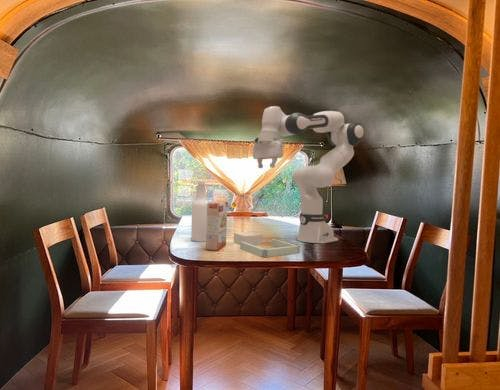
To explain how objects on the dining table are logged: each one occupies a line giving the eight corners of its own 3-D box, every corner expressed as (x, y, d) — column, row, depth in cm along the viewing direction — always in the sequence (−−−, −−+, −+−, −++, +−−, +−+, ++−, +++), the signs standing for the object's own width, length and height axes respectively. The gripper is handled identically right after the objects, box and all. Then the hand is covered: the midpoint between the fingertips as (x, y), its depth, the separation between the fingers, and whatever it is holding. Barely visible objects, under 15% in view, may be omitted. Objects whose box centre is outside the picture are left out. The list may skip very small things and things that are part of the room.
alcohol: (192, 238, 175) (193, 180, 174) (209, 239, 176) (210, 180, 174) (190, 242, 167) (191, 180, 165) (208, 242, 167) (209, 181, 165)
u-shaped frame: (273, 244, 166) (273, 238, 165) (299, 252, 150) (299, 246, 149) (240, 248, 155) (240, 241, 155) (264, 257, 139) (264, 250, 139)
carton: (250, 241, 174) (250, 231, 174) (261, 244, 166) (262, 234, 166) (233, 242, 169) (233, 232, 169) (244, 246, 161) (244, 236, 160)
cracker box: (218, 251, 149) (219, 203, 147) (205, 250, 150) (206, 202, 149) (227, 244, 162) (228, 201, 161) (215, 244, 164) (215, 200, 162)
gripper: (288, 138, 158) (285, 168, 158) (262, 142, 175) (259, 169, 175) (277, 135, 155) (274, 166, 154) (252, 140, 172) (249, 167, 171)
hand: (266, 167), depth 165 cm, fingers open, 8 cm apart
